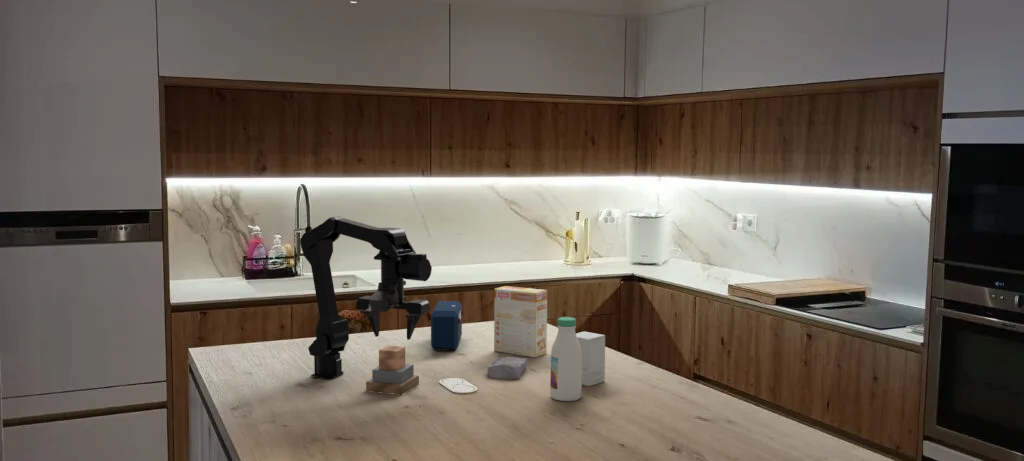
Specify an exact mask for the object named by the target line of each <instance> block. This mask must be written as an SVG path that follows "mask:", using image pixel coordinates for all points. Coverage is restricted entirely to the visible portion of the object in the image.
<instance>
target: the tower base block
mask: <svg viewBox="0 0 1024 461" xmlns="http://www.w3.org/2000/svg"><path fill="white" fill-rule="evenodd" d="M365 382H366V383H365V385H366V386H365V391H366V392H369V391H370V392H371V391H372V392H371V393H378V392H382V393H381V394H386V393H394V394H393V395H395V394H401V395H400V396H402V394H403V393H405V392H406V393H408V392H409V391H408V390H410V389H411V390H413V389H414V388H416V387H418V386H420V376H419V375H415V374H414V376H413V377H411V378H410V379H408V380H407V381H405V382H404V383H402V384H396V383H384V382H373V381H372V378H371V379H369V380H367V381H365ZM417 385H418V386H417ZM412 388H413V389H412ZM411 390H410V391H411ZM407 391H408V392H407ZM406 393H405V394H406ZM403 395H404V394H403Z"/></svg>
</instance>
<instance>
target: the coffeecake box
mask: <svg viewBox="0 0 1024 461" xmlns="http://www.w3.org/2000/svg"><path fill="white" fill-rule="evenodd" d="M493 294H494V298H493V299H494V304H493V307H494V309H493V312H494V313H493V314H494V316H493V318H494V319H493V320H494V322H493V323H494V324H493V325H494V326H493V329H494V330H493V331H494V332H493V335H494V336H493V337H494V338H493V342H494V343H493V351H494V352H497V353H498V352H499V353H506V354H511V355H518V356H523V357H529V358H537V357H540V356H543V355H546V354H547V353H548V352H547V346H548V345H547V342H548V341H547V340H548V334H547V333H548V290H547V289H541V288H540V289H539V288H538V289H537V288H531V287H519V286H510V285H504V286H500V287H495V288H494V293H493Z"/></svg>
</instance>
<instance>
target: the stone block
mask: <svg viewBox="0 0 1024 461" xmlns="http://www.w3.org/2000/svg"><path fill="white" fill-rule="evenodd" d="M527 360H528V359H527V358H526V357H525V358H522V357H515V356H504V357H500V358H495V359H494V360H492V361H491V362H490V363H489V365H488V366H487V374H488V377H490V378H493V379H511V380H512V379H515V380H519V379H520V378H521V377H522V376H523V374H524V372H525V371H526V370H527V362H528V361H527Z"/></svg>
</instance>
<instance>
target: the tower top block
mask: <svg viewBox="0 0 1024 461" xmlns="http://www.w3.org/2000/svg"><path fill="white" fill-rule="evenodd" d="M414 366H415V365H414V364H409V363H405V367H403V368H401V369H399V370H397V371H393V370H384V369H379V365H378V366H376V367H374V368H373V369H372V371H371V374H372V378H371V379H372V381H373V382H384V383H396V384H402V383H404V382H405V381H407V380H408V379H410V378H411V377H413V376H414V375H415V374H414V368H415V367H414Z"/></svg>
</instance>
